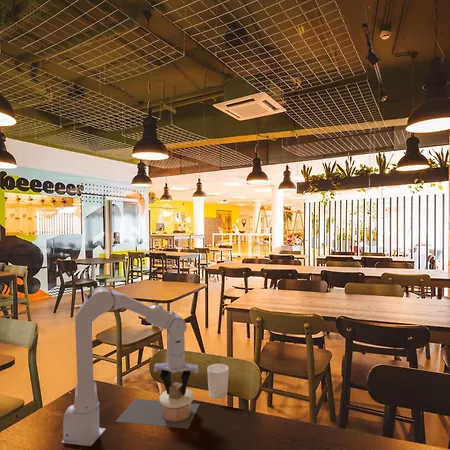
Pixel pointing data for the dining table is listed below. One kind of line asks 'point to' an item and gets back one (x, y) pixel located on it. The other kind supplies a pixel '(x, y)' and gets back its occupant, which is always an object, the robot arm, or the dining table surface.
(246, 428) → the dining table surface
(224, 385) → the white cup
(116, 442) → the dining table surface
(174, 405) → the lid
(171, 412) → the bowl
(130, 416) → the mat
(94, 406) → the robot arm
